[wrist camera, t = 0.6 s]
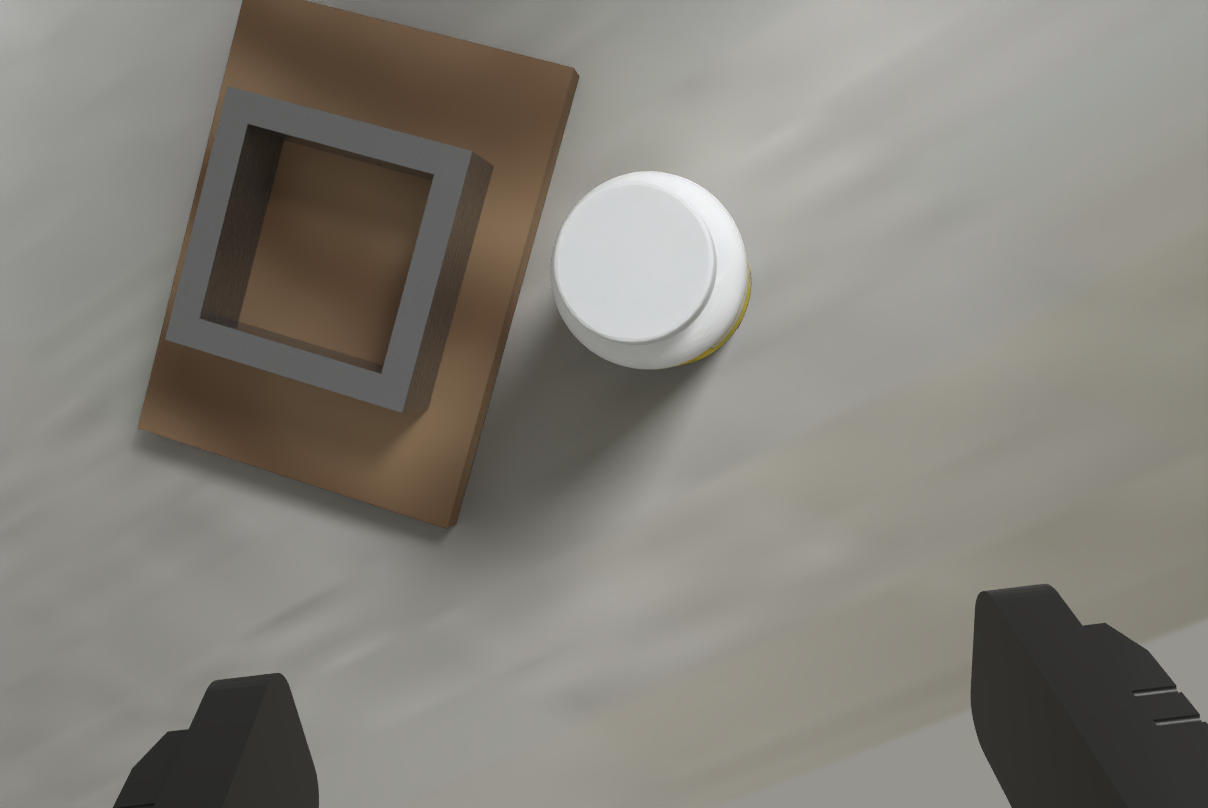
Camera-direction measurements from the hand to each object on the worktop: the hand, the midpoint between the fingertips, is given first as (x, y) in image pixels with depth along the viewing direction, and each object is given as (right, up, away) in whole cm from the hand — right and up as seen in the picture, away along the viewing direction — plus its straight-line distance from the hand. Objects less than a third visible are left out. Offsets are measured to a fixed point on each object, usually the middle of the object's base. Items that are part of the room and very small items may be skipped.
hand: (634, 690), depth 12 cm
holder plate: (-9, +8, +24) cm, 27 cm away
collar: (-9, +8, +23) cm, 27 cm away
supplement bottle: (+2, +7, +23) cm, 24 cm away
